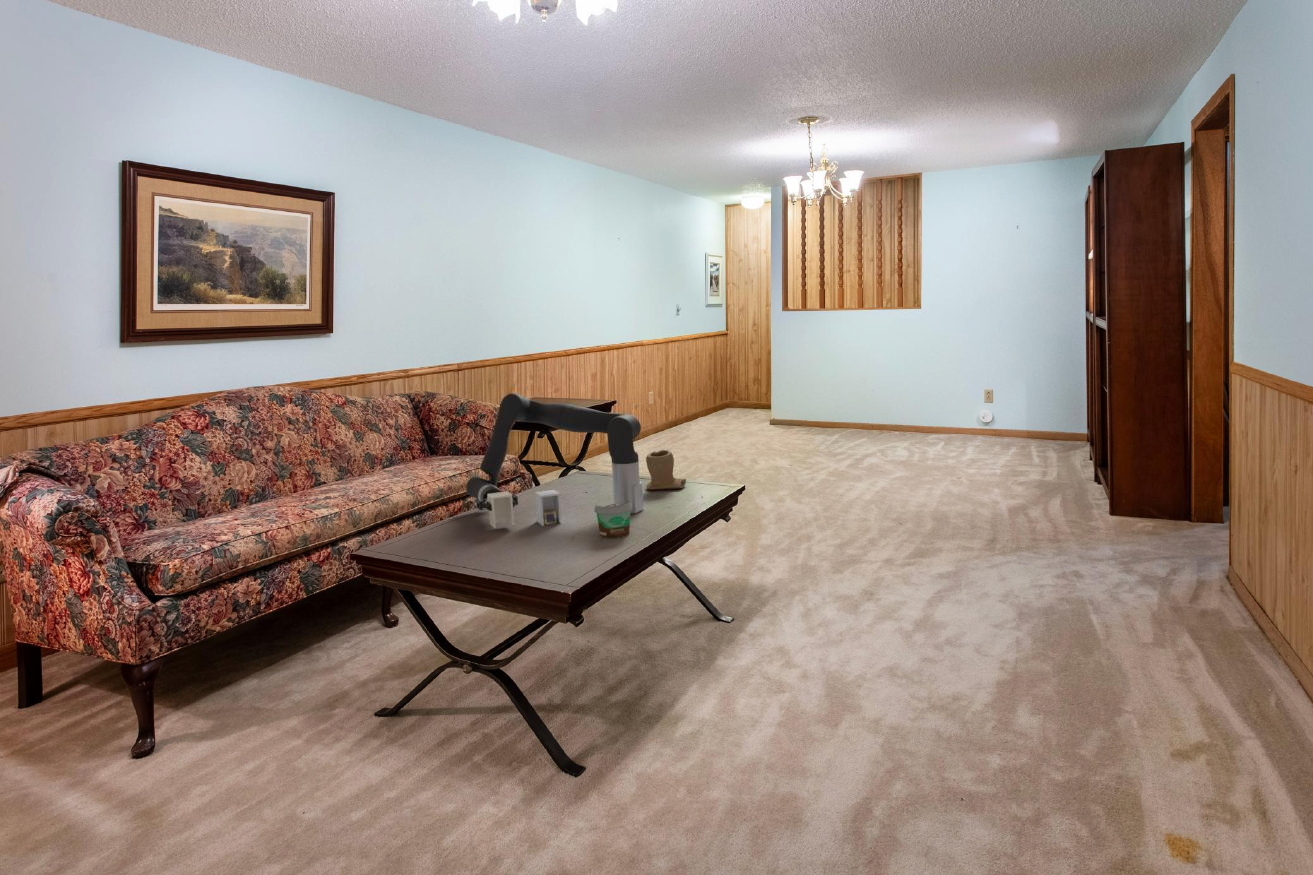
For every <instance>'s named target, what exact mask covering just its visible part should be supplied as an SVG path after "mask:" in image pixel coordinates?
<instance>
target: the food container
mask: <svg viewBox="0 0 1313 875" xmlns="http://www.w3.org/2000/svg"><path fill="white" fill-rule="evenodd" d="M631 509H632V504H631V502H630V500H628V503H624V504H614V503H612V504H609V505H606V506H602V505H595V507H594V513H596V517H597V524H598V532H599V537H600V536H602V537H601V538H604V537H605V539H619V538H618V537H620V538H624V537H623V536H625V537H627V536H629V535H630V528H631V527H630V524H631V513H630V510H631Z"/></svg>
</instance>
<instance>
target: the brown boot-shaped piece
mask: <svg viewBox="0 0 1313 875" xmlns="http://www.w3.org/2000/svg"><path fill="white" fill-rule="evenodd" d="M645 463H646V467H647V470H648V472H649V475H650V478H651V481H650V482H648V483H647V484H646V485H645V487H646V489H648V490H673V489H674V490H676V489H677V490H678V489H683V488H684V487H685V486H686V484H687V479H686V478H676V477H674V475H673V474H674V466H675V458H674V454H673V453H672V451H671V450H668V449H661V450H658V451H652V452H650V453H648V454H647V455H646V457H645Z"/></svg>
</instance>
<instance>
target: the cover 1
mask: <svg viewBox="0 0 1313 875" xmlns="http://www.w3.org/2000/svg"><path fill="white" fill-rule="evenodd" d="M487 497H488V501H489V503H491V505H492V511H489V510H488V517H489V518H488V519H489V525H490V526H491V527H492V528H493V529H497V524H501V523H507V522H508V523H510V524H511V525H512V526H515V514H514V508H513V501H512V493H510V492H509V491H508V490H506V491H502V492H498V493H491V494H487Z"/></svg>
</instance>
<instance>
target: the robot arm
mask: <svg viewBox="0 0 1313 875" xmlns="http://www.w3.org/2000/svg"><path fill="white" fill-rule="evenodd" d="M515 422H520V423H521V422H523V423H535V424H542V425H546V426H548V427H551V428H554V429H557V430H562V431H566V432H572V433H581V434H582V433H584V434H586V433H587V434H588V433H589V434H590V433H592V434H593V433H597V434H598V433H601V434H606V436H607V445H608V446H607V448H608V453H609V456H610V460H611V472H612V473H611V474H612V475H611V477H612V488H613V490H612V492H613V493H612V494H613V495H612V496H613V504H624V503H628V500H630V502H631V504H632V509H631V510H630V514H637V513H639V512H642V511H643V510H644V498H643V494H644V492H643V482H641V481H640V479H641V478H640V463H639V461H640V459H639V458H640V457H639V454H638V452H636V449H635V447H634V439H636V438H637V437H638V436H639V435H640V433H641V429H642V426H641V422H640V421H639V419H638V418H637V417H636V416H634V415H633V414H629V413H615V412H614V413H613V412H604V411H600V410H596V409H592V408H588V407H583V406H579V405H574V404H570V403H569V404H568V403H562V402H561V403H558V402H557V403H547V402H546V403H544V402H540V401H538V400H533V399H531V398H528V397H525V396H524V395H520V394H517V393H508V394H506V395H505V396H504V397H503V398H502V399H501V402H500V405H499V408H498V412H497V416H496V420H495V424H494V426H493V432H492V435H491V438H490V442H489V444H488V447H487V450H486V451H485V454H484V457H483V458H482V461H481V464H480V467H479V469H480V471H482V472H483V473H485V474H486V475H488V476H489V480H488V479H486V478H482V477H479V476H473V477H471V478H469V479H468V481H467V482H466V485H465V489H466V493H467V495H468V496H470V497H472V498H474V507H475V508H476V509H477V510H479V511H482V510H484V509H485V510H486V511H488V512H489V511H492V505H491V503H489V501H488V497H487V494H491V493H498V492H503V491H502V490H501V489H500V488H499V487H497V486H498V480H499V475H500V472H501V468H502V466H503V464H504V462H505V459H506V456H507V453H508V446H509V444H508V443H509V436H510V432H511V430H512V427H513V425H514V423H515ZM511 494H512V493H511ZM512 501H513V509H514V508H515V507H516V506H518V505H519V497H518V495H517V494H515V493H513V494H512Z"/></svg>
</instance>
